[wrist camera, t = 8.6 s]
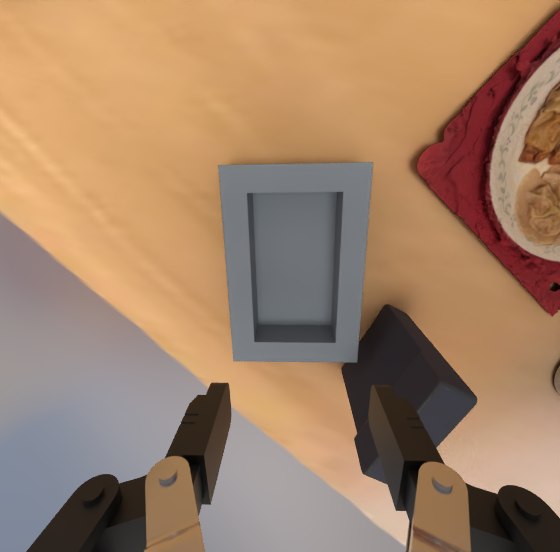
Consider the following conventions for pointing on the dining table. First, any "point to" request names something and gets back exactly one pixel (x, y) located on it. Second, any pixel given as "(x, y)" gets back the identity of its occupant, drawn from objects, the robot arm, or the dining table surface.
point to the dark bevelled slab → (403, 383)
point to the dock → (295, 259)
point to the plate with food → (510, 165)
